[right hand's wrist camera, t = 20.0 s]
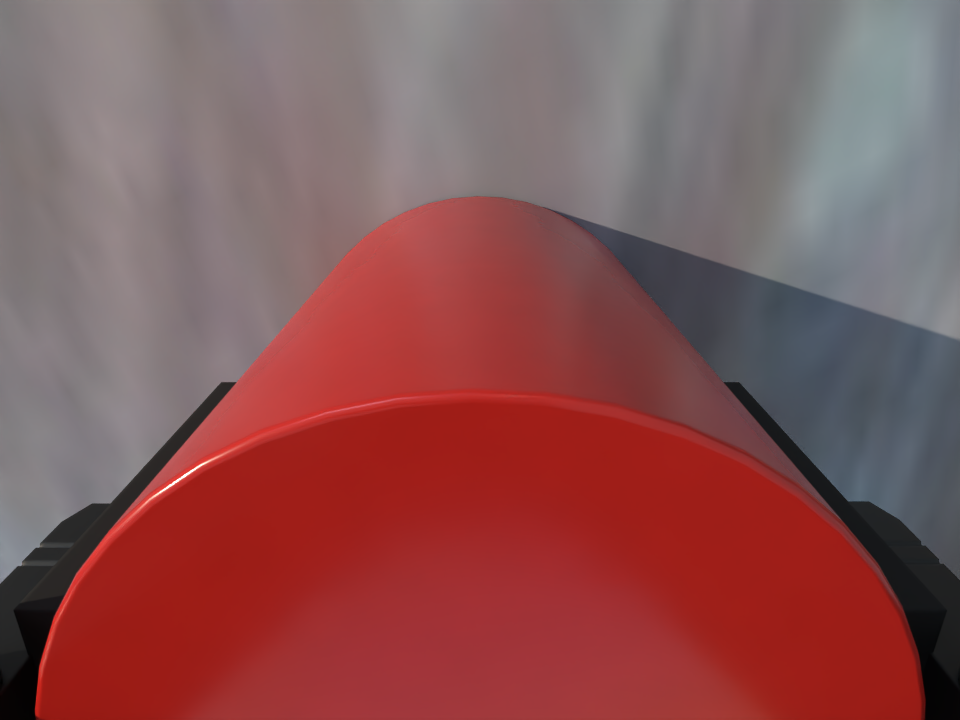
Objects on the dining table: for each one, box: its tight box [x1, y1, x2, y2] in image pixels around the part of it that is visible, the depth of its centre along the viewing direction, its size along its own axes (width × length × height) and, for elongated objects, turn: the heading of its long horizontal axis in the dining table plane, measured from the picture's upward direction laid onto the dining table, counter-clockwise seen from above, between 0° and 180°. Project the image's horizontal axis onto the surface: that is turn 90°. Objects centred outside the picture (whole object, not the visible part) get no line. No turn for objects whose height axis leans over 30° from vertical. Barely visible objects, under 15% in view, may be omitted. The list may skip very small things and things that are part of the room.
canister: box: [35, 196, 926, 720], centre depth 12 cm, size 9×9×12 cm
